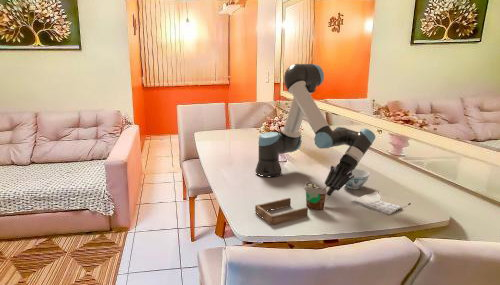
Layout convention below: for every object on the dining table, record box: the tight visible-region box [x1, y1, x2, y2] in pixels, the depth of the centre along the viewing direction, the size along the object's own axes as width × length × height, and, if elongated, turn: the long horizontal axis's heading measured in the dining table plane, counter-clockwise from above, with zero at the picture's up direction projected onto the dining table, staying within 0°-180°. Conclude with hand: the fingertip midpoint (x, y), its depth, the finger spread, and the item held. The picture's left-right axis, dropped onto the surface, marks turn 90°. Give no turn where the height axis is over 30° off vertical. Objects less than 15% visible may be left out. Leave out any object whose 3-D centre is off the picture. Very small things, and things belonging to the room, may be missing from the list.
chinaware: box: [344, 168, 370, 190], centre depth 176 cm, size 15×15×8 cm
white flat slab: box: [351, 190, 402, 216], centre depth 156 cm, size 19×20×2 cm
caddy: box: [254, 197, 309, 226], centre depth 144 cm, size 13×18×4 cm
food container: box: [303, 180, 327, 211], centre depth 151 cm, size 12×6×10 cm, turn 23°
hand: (321, 200), depth 153 cm, fingers closed
